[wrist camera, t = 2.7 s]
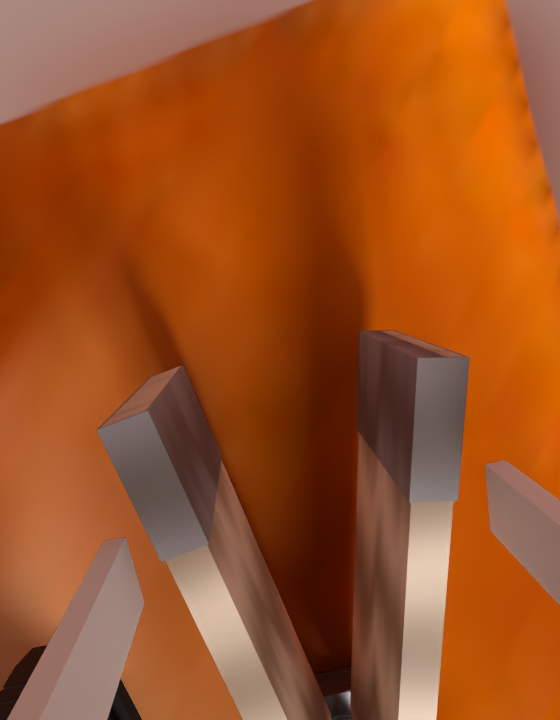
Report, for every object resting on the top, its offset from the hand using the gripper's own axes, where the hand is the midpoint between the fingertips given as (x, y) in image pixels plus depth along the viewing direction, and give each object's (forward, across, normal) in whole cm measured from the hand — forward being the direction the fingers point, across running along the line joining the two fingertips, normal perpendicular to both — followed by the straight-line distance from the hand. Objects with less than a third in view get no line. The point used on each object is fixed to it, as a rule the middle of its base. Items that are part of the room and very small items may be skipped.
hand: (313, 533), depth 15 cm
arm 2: (+6, +3, +5) cm, 9 cm away
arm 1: (+6, -3, +5) cm, 9 cm away
